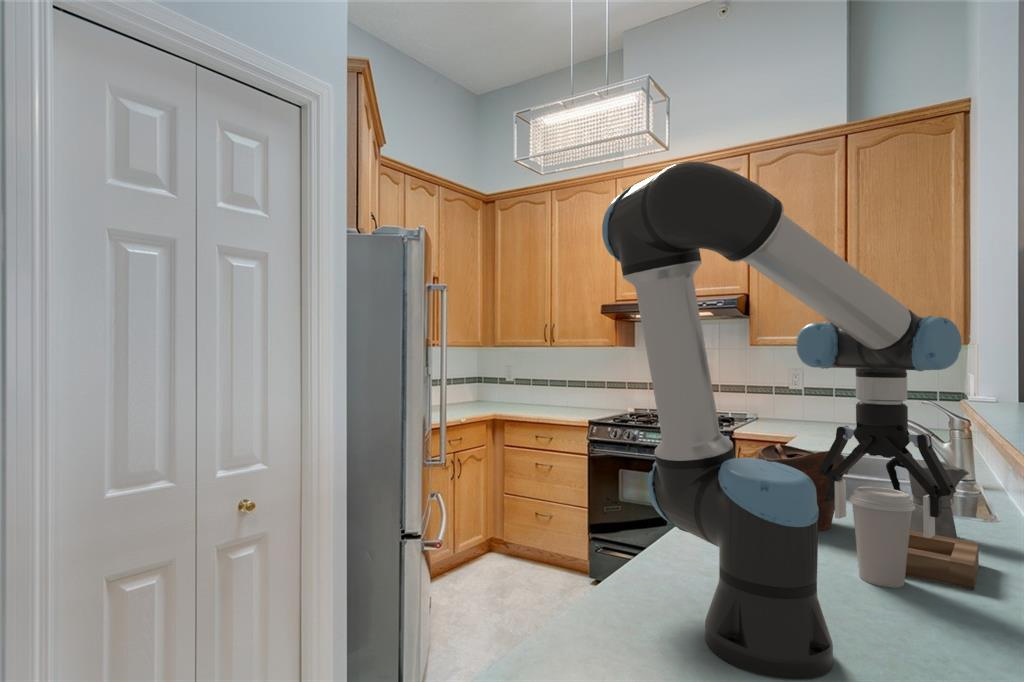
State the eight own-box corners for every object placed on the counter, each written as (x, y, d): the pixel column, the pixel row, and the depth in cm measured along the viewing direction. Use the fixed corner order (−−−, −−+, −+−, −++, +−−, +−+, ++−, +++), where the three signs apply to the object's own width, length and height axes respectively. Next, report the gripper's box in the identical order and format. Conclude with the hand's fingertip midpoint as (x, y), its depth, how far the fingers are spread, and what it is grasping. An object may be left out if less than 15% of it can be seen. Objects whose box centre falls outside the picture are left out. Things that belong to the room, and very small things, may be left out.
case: (761, 506, 146) (761, 435, 146) (852, 521, 135) (852, 444, 135) (742, 523, 132) (743, 445, 132) (843, 542, 120) (843, 455, 120)
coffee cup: (920, 580, 99) (919, 492, 99) (909, 596, 92) (909, 501, 92) (856, 565, 106) (856, 483, 106) (842, 580, 99) (842, 491, 99)
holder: (973, 590, 95) (973, 565, 95) (861, 565, 105) (861, 543, 106) (978, 564, 107) (978, 542, 107) (877, 544, 118) (877, 525, 118)
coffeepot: (977, 539, 122) (976, 454, 122) (960, 547, 116) (960, 458, 117) (895, 522, 134) (895, 444, 135) (877, 528, 129) (876, 447, 129)
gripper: (978, 406, 92) (980, 540, 91) (817, 396, 112) (818, 506, 111) (962, 408, 87) (964, 550, 87) (797, 398, 107) (798, 513, 107)
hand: (882, 526), depth 99 cm, fingers open, 13 cm apart
